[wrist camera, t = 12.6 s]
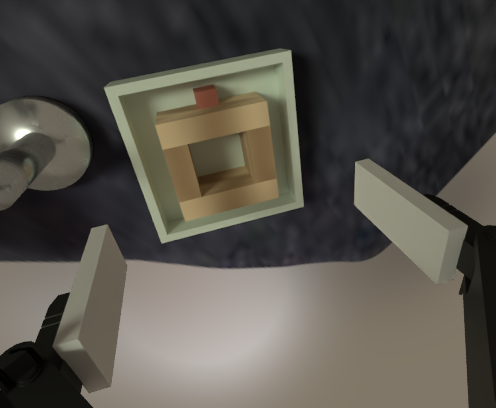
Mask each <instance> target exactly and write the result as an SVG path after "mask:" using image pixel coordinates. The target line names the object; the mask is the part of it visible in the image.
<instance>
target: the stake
mask: <svg viewBox="0 0 496 408" xmlns="http://www.w3.org/2000/svg"><path fill="white" fill-rule="evenodd" d="M92 156H93V140H92V136H91V133H90V131H89V129H88V127H87V125H86V124H85V122H84V121H83V120H82V119H81V117H80V116H79V115H78V114H77V113H76V112H75V111H73V110H72V109H71V108H69V107H68V106H66V105H64V104H63V103H61V102H59V101H56V100H54V99H51V98H47V97H43V96H22V97H18V98H15V99H13V100H10V101H8V102H6V103H4V104H2V105H0V211H1V210H5V209H7V208H9V207H10V206H12V205H13V203H14V202H15V201H16V200H17V199H18V198H19V197H20V196H21V194H22V193H23V192H24V191H25V190H26V189H27V188H31V189H36V190H46V191H48V190H57V189H62V188H65V187H67V186H70V185H71V184H73V183H75V182H76V181H77V180H78V179H80V177H81V176H82V175H83V174H84V172H85V171H86V169H87V167H88V166H89V164H90V162H91V159H92Z"/></svg>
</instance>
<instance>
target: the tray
mask: <svg viewBox="0 0 496 408" xmlns="http://www.w3.org/2000/svg"><path fill="white" fill-rule="evenodd" d="M212 84H213V85H214V87H215V88H216V91H217V96H218V99H221V98H226V97H231V96H235V95H240V94H245V93H249V92H255V93H257V94H258V95H259V96H261V97H262V98H264V99H265V100H267V105H268V113H269V121H270V129H271V137H272V144H273V152H274V160H275V168H276V176H277V184H278V191H279V198H276V199H272V200H268V201H264V202H260V203H256V204H252V205H248V206H244V207H240V208H236V209H232V210H229V211H225V212H221V213H217V214H213V215H209V216H205V217H201V218H197V219H193V220H189V221H185V220H184V216H183V213H182V210H181V207H180V204H179V200H178V197H177V194H176V191H175V188H174V185H173V181H172V178H171V175H170V172H169V169H168V165H167V162H166V159H165V156H164V153H163V149H162V146H161V143H160V140H159V137H158V133H157V130H156V127H155V121H156V114H157V112H161V111H166V110H170V109H175V108H180V107H184V106H189V105H193V104H196V100H195V96H194V92H193V88H197V87H202V86H207V85H212ZM104 89H105V92H106V95H107V97H108V100H109V103H110V105H111V108H112V111H113V114H114V116H115V119H116V122H117V124H118V127H119V130H120V132H121V135H122V138H123V141H124V143H125V146H126V149H127V151H128V154H129V157H130V159H131V162H132V165H133V167H134V170H135V173H136V176H137V178H138V181H139V184H140V186H141V189H142V192H143V194H144V197H145V200H146V203H147V205H148V208H149V211H150V213H151V216H152V219H153V221H154V224H155V227H156V229H157V232H158V235H159V238H160V240H161V243H165V242H169V241H173V240H177V239H180V238H184V237H188V236H192V235H196V234H200V233H204V232H208V231H211V230H215V229H219V228H223V227H227V226H231V225H235V224H239V223H242V222H246V221H250V220H254V219H258V218H262V217H266V216H269V215H273V214H277V213H281V212H285V211H289V210H293V209H297V208H300V207H304V202H303V190H302V178H301V165H300V153H299V141H298V129H297V117H296V104H295V92H294V80H293V68H292V56H291V50H286V49H280V48H279V49H274V50H269V51H264V52H259V53H254V54H249V55H244V56H239V57H234V58H229V59H224V60H219V61H214V62H209V63H204V64H199V65H194V66H189V67H184V68H179V69H173V70H168V71H163V72H158V73H153V74H148V75H143V76H138V77H133V78H128V79H123V80H118V81H113V82H110V83H109V84H108V85H106V86H105V87H104ZM189 147H190V150H191V154H192V158H193V162H194V165H195V169H196V173H197V177H200V176H204V175H208V174H212V173H216V172H221V171H225V170H229V169H233V168H237V167H241V166H245V162H244V157H243V151H242V146H241V140H240V135H239V133H235V134H230V135H226V136H222V137H217V138H213V139H208V140H204V141H200V142H195V143H191V144H189Z"/></svg>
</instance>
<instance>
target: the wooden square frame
mask: <svg viewBox="0 0 496 408" xmlns="http://www.w3.org/2000/svg"><path fill="white" fill-rule="evenodd" d="M193 92H194V96H195V100H196V104H193V105H189V106H184V107H180V108H175V109H170V110H166V111H161V112H157V114H156V121H155V127H156V130H157V133H158V137H159V140H160V143H161V146H162V149H163V153H164V156H165V159H166V162H167V165H168V169H169V172H170V175H171V178H172V181H173V185H174V188H175V191H176V194H177V197H178V200H179V204H180V207H181V210H182V213H183V216H184V220H185V221H189V220H193V219H197V218H201V217H205V216H209V215H213V214H217V213H221V212H225V211H229V210H232V209H236V208H240V207H244V206H248V205H252V204H256V203H260V202H264V201H268V200H272V199H276V198H279V191H278V184H277V176H276V168H275V160H274V152H273V144H272V137H271V129H270V121H269V113H268V105H267V100H265V99H264V98H262V97H261V96H259V95H258V94H257V93H255V92H249V93H245V94H240V95H235V96H231V97H226V98H221V99H218V96H217V91H216V88H215V87H214V85H213V84H212V85H207V86H202V87H197V88H193ZM235 133H239V135H240V140H241V146H242V151H243V157H244V162H245V166H241V167H237V168H233V169H229V170H225V171H221V172H216V173H212V174H208V175H204V176H200V177H197V173H196V169H195V165H194V162H193V158H192V154H191V150H190V147H189V144H191V143H195V142H200V141H204V140H208V139H213V138H217V137H222V136H226V135H230V134H235Z"/></svg>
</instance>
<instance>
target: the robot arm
mask: <svg viewBox="0 0 496 408" xmlns="http://www.w3.org/2000/svg"><path fill="white" fill-rule="evenodd" d="M354 205H355V206H356V207H357V208H358V209H359V210H360V211H361V212H362V213H363V214H364V215H365V216H366V217H367V218H368V219H369V220H370V221H371V222H372V223H374V224H375V225H376V226H377V227H378V228H379V229H380V230H381V231H382V232H383V233H384V234H385V235H386V236H387V237H388V238H389V239H390V240H391V241H392V242H393V243H394V244H395V245H396V246H397V247H398V248H400V250H402V251H403V252H404V253H405V254H406V255H407V256H408V257H409V258H410V259H411V260H412V261H413V262H414V263H415V264H416V265H417V266H418V267H419V268H420V269H422V271H423V272H424V273H425V274H426V275H427V276H429V277H430V278H431V279H432V280H433V281H434V282H435V283H436V284H441V283H444V282H447V281H451V280H454V277H455V273H456V269H458V270H459V271H460V272H462V273H463V274H464V277H463V281H462V284H461V288H460V291H459V294H460V295H462V293H463V301H464V302H463V303H464V323H465V342H466V363H467V383H468V401H469V408H496V226H492V225H487V226H483V225H481V224H479V223H478V222H476V221H475V220H473V219H472V218H470V217H468V216H467V215H465V214H464V213H462V212H461V211H459V210H457V209H456V208H454V207H453V206H452V205H449V204H448V203H447V202H445V201H444V200H442V199H441V198H438V197H435V196H433V195H430V194H426V195H422V194H420V193H419V192H417V191H416V190H414V189H413V188H411V187H410V186H408V185H407V184H405V183H404V182H402V181H401V180H399V179H398V178H396V177H395V176H393V175H392V174H391V173H389V172H388V171H386V170H385V169H383V168H382V167H380V166H379V165H377V164H376V163H374V162H373V161H371V160H370V159H365V160H361V161H357V162H355V193H354ZM126 271H127V264H126V262H125V260H124V258H123V256H122V254H121V252H120V250H119V247H118V245H117V243H116V241H115V239H114V237H113V235H112V233H111V231H110V229H109V226H108V224H107V225H103V226H99V227H95V228H91V231H90V234H89V237H88V240H87V243H86V246H85V250H84V253H83V256H82V259H81V262H80V265H79V268H78V271H77V274H76V277H75V280H74V283H73V286H72V289H71V292H69V293H66V294H62V295H58V296H57V298H56V299H55V300H54V301H53V302H52V304H51V305H50V306H49V308H48V311H47V313H46V316H45V320H44V321H43V323H42V326H41V327H42V329H40V331H39V334H38V336H37V339H36V342H35V343H34V342H32V341H28V342H22V343H19V344H16V345H14V346H13V347H11V348H9V349H8V350H6V351H5V352H4V353H3V354H2V355H1V356H0V389H1V390H0V408H93V407H92V406H91V405H90V404H89V403H88V401H87V400H86V399H84V397H83V396H82V395H81V394H80V393H81V388H82V385H83V386H84V387H85V389H86V390H87V391H88V392H89V393H91V392H94V391H98V390H101V389H104V388H107V387H110V386H111V382H112V375H113V367H114V360H115V352H116V345H117V337H118V330H119V322H120V315H121V307H122V301H123V293H124V286H125V279H126Z"/></svg>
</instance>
